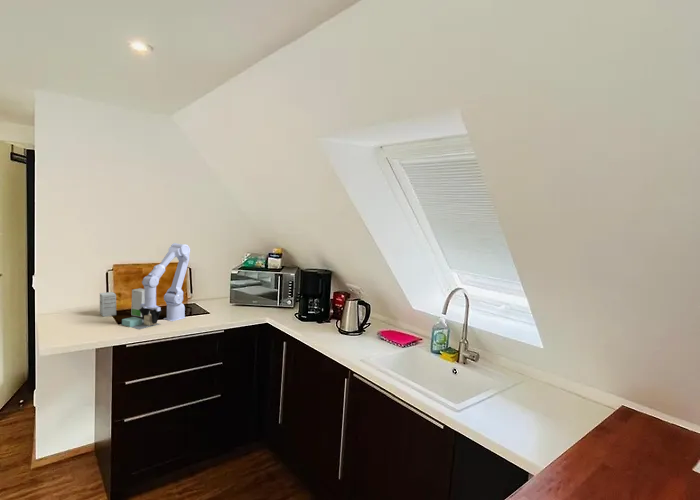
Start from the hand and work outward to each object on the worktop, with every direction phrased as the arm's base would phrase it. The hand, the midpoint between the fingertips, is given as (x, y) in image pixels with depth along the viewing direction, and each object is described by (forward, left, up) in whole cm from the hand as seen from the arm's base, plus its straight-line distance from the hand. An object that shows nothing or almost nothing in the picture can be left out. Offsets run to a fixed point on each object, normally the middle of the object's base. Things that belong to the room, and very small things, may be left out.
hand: (150, 322), depth 232 cm
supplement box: (+1, -37, -2) cm, 37 cm away
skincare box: (-9, -21, -2) cm, 23 cm away
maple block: (0, 0, -1) cm, 1 cm away
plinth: (+6, -7, -1) cm, 9 cm away
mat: (+3, -4, -2) cm, 5 cm away
